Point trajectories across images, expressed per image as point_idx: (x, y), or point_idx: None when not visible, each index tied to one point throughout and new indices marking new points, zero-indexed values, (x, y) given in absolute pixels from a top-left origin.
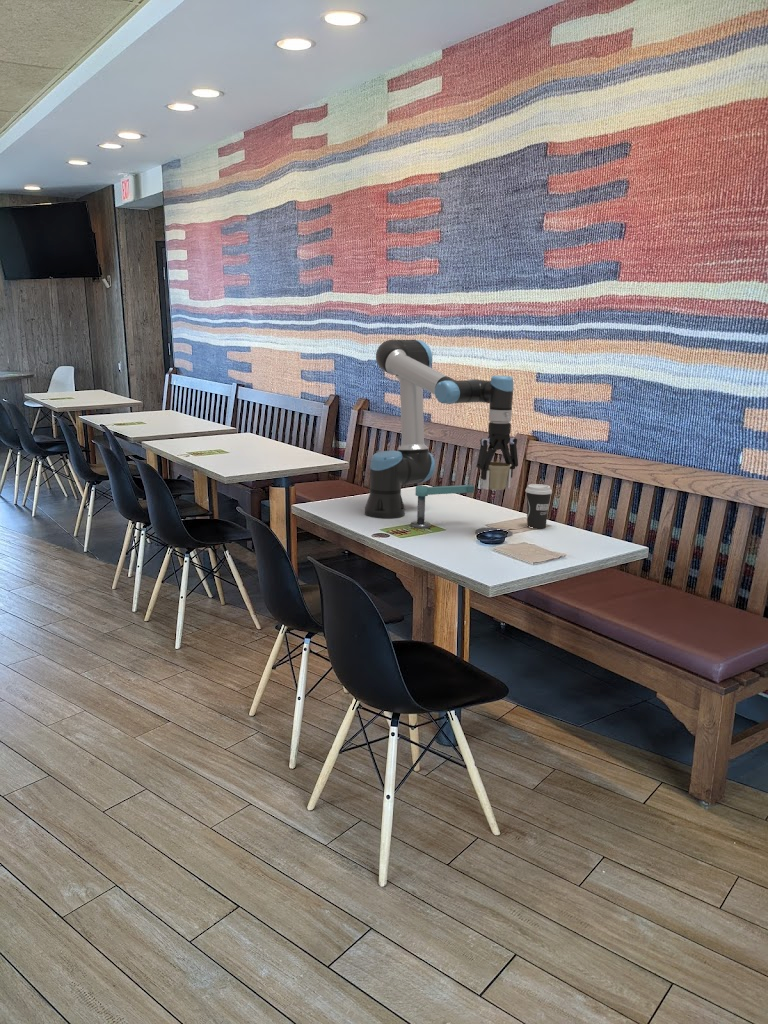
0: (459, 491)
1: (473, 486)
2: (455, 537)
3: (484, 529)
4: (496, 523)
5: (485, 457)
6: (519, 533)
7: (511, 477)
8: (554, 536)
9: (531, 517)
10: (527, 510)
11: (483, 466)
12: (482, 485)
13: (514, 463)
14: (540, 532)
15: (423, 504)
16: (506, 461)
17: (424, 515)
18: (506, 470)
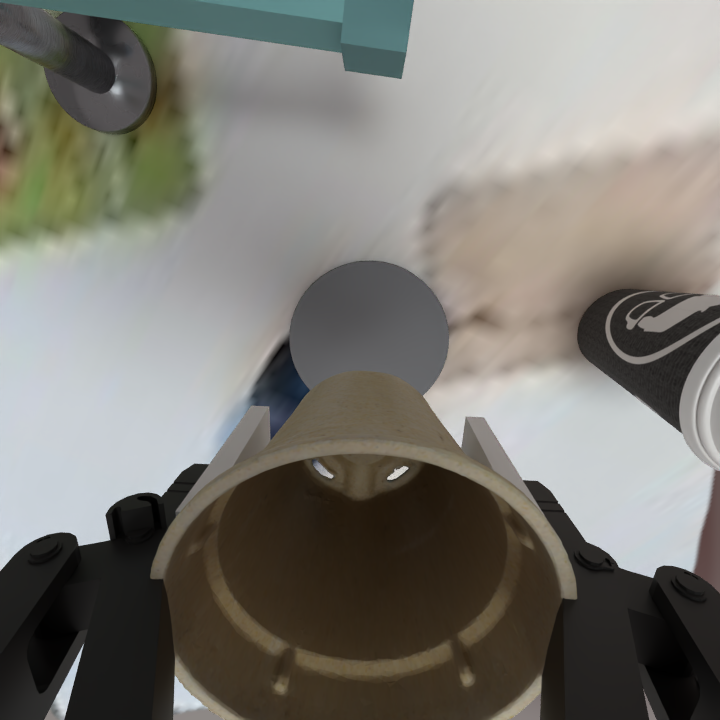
0: (267, 35)
1: (397, 53)
2: (180, 335)
3: (358, 291)
4: (506, 190)
5: (71, 716)
6: (464, 387)
7: None
8: (551, 473)
9: (602, 356)
10: (626, 331)
11: (83, 641)
12: (243, 418)
13: (647, 673)
14: (554, 409)
15: (3, 41)
16: (555, 659)
17: (79, 67)
18: (387, 679)
